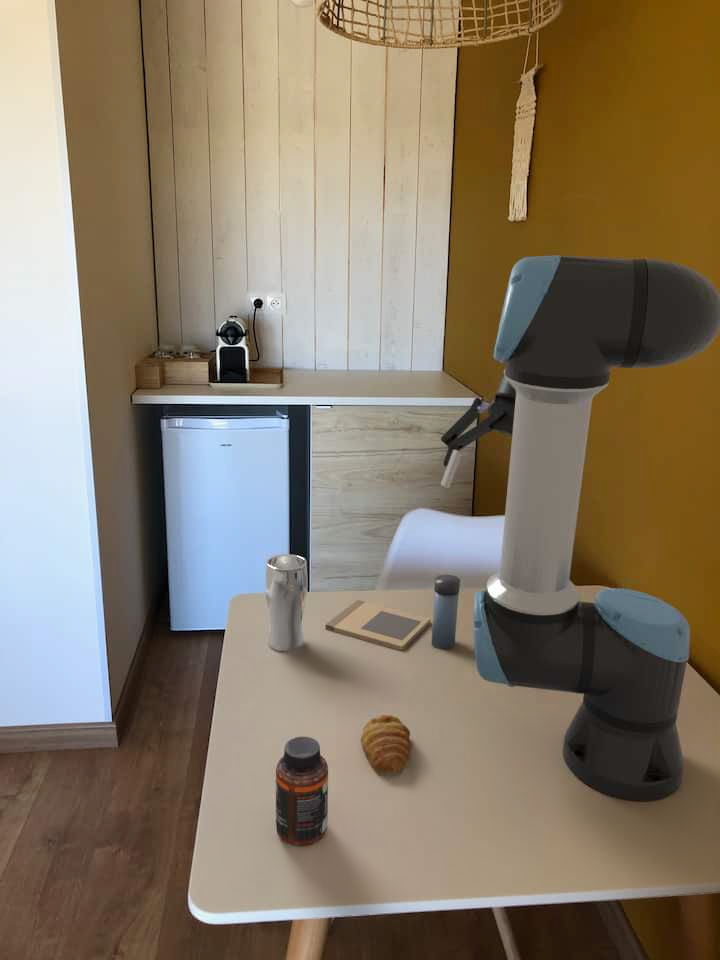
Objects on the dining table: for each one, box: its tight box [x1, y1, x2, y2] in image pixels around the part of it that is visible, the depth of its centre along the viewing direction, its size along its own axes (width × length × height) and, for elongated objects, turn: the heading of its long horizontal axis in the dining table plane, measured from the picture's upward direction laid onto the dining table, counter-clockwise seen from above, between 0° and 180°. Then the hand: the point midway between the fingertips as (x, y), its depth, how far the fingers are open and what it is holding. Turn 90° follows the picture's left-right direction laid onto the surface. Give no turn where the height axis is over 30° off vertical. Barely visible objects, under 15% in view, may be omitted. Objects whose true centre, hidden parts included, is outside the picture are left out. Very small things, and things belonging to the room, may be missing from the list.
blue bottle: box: [431, 574, 461, 650], centre depth 132 cm, size 4×4×12 cm
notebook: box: [325, 599, 431, 651], centre depth 139 cm, size 12×15×1 cm
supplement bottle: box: [275, 736, 329, 847], centre depth 88 cm, size 6×6×11 cm
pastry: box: [360, 714, 413, 776], centre depth 103 cm, size 9×7×4 cm
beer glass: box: [265, 553, 309, 653], centre depth 130 cm, size 7×7×15 cm
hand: (480, 498), depth 131 cm, fingers open, 13 cm apart
